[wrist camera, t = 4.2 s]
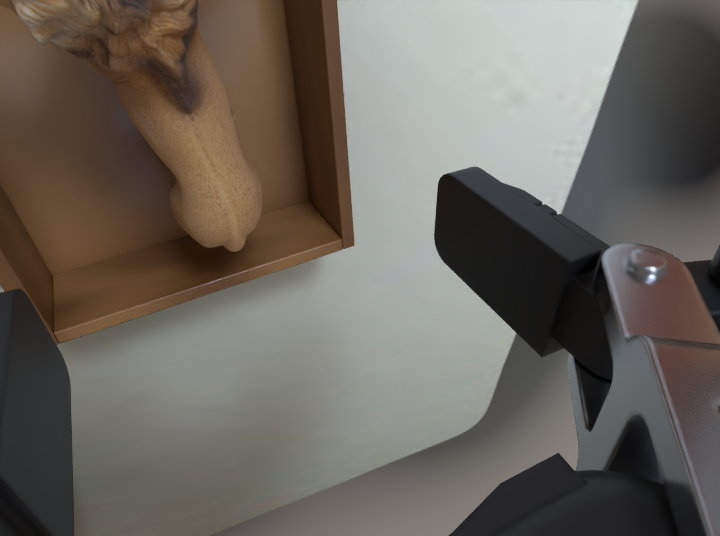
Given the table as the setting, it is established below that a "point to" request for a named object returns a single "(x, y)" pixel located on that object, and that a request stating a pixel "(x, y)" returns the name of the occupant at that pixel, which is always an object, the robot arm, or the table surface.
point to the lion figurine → (164, 101)
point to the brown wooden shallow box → (166, 169)
